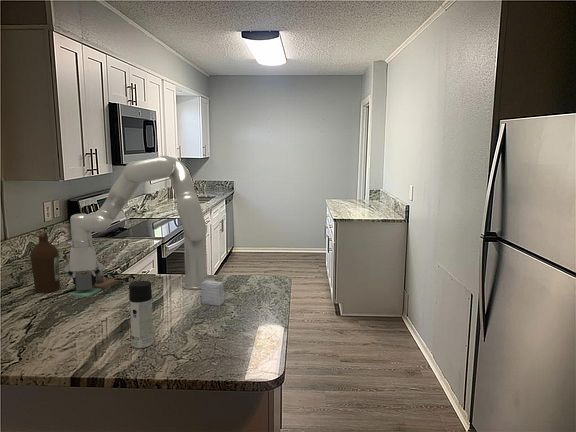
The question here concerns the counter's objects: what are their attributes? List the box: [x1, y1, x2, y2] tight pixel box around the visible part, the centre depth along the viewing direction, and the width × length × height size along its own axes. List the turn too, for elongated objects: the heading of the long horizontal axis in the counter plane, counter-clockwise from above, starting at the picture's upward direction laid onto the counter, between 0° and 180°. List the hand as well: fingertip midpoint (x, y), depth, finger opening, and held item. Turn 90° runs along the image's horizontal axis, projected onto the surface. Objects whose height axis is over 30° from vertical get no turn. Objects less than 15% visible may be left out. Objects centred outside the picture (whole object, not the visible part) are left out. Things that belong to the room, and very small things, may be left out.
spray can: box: [128, 280, 154, 350], centre depth 136 cm, size 7×7×20 cm
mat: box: [68, 288, 103, 298], centre depth 185 cm, size 9×9×1 cm
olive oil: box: [30, 231, 61, 294], centre depth 186 cm, size 11×11×25 cm
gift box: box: [75, 271, 93, 291], centre depth 184 cm, size 6×6×7 cm
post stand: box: [93, 265, 120, 290], centre depth 195 cm, size 12×10×8 cm
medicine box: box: [200, 280, 225, 307], centre depth 173 cm, size 8×4×9 cm, turn 71°
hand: (85, 284), depth 184 cm, fingers closed on gift box, 6 cm apart
